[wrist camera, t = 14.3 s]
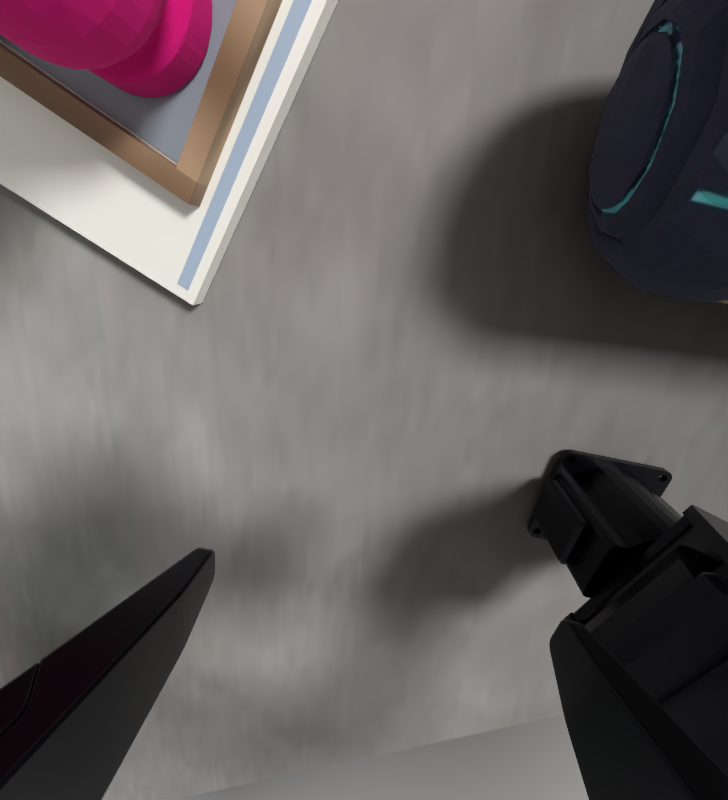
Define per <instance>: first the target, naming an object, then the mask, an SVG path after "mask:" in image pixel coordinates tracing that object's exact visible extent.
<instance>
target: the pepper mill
mask: <svg viewBox="0 0 728 800" xmlns="http://www.w3.org/2000/svg"><path fill="white" fill-rule="evenodd" d="M211 30H212V0H0V35H2V36H3V37H5V38H6V39H8V40H9V41H11V42H13V43H14V44H16V45H17V46H19V47H20V48H22V49H24V50H25V51H27V52H29V53H30V54H32V55H34V56H36V57H38V58H41V59H43V60H45V61H48V62H50V63H53V64H55V65H58V66H63V67H67V68H71V69H88V70H89V71H91V72H93V73H94V74H96V75H97V76H99V77H101V78H102V79H104V80H106V81H107V82H109V83H110V84H112V85H114V86H115V87H117V88H119V89H121V90H123V91H125V92H127V93H130V94H132V95H136V96H140V97H148V98H151V97H161V96H164V95H167V94H171V93H174V92H175V91H177V90H178V89H180V88H181V87H183V86H184V85H185V84H186V83H187V82H189V81H190V80H191V79H192V78H193V77H194V75H195V74H196V72H197V70H198V68H199V67H200V65H201V63H202V61H203V59H204V57H205V56H206V53H207V49H208V46H209V41H210V36H211Z"/></svg>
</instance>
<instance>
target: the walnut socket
mask: <svg viewBox="0 0 728 800" xmlns="http://www.w3.org/2000/svg"><path fill="white" fill-rule="evenodd" d="M282 1H283V0H237V1H236V4H235V7H234V9H233V12H232V15H231V18H230V21H229V23H228V26H227V29H226V32H225V34H224V37H223V40H222V43H221V45H220V48H219V51H218V54H217V56H216V59H215V62H214V65H213V68H212V70H211V73H210V76H209V79H208V81H207V84H206V87H205V90H204V92H203V95H202V98H201V101H200V104H199V106H198V109H197V112H196V115H195V117H194V120H193V123H192V126H191V128H190V131H189V134H188V137H187V140H186V142H185V145H184V148H183V151H182V153H181V156H180V159H179V162H178V164H177V165H176V164H175V163H173V162H172V161H170V160H169V159H167V158H166V157H165V156H163V155H162V154H160V153H159V152H157V151H156V150H154V149H153V148H152V147H150V146H149V145H147V144H146V143H144V142H143V141H141V140H140V139H139V138H137V137H136V136H134V135H133V134H131V133H130V132H128V131H127V130H126V129H124V128H123V127H121V126H120V125H118V124H117V123H115V122H114V121H113V120H111V119H110V118H108V117H107V116H105V115H104V114H103V113H101V112H100V111H98V110H97V109H95V108H94V107H92V106H91V105H90V104H88V103H87V102H85V101H84V100H82V99H81V98H79V97H78V96H77V95H75V94H74V93H72V92H71V91H69V90H68V89H66V88H65V87H64V86H62V85H61V84H59V83H58V82H56V81H55V80H53V79H52V78H51V77H49V76H48V75H46V74H45V73H43V72H42V71H41V70H39V69H38V68H36V67H35V66H33V65H32V64H30V63H29V62H28V61H26V60H25V59H23V58H22V57H20V56H19V55H17V54H16V53H15V52H13V51H12V50H10V49H9V48H7V47H6V46H4V45H3V44H2V43H0V77H2V78H3V79H5V80H6V81H8V82H9V83H11V84H12V85H14V86H15V87H16V88H18V89H19V90H21V91H22V92H24V93H25V94H27V95H28V96H30V97H31V98H33V99H34V100H36V101H37V102H39V103H40V104H42V105H43V106H44V107H46V108H47V109H49V110H50V111H52V112H53V113H55V114H56V115H58V116H59V117H61V118H62V119H64V120H65V121H67V122H68V123H70V124H71V125H72V126H74V127H75V128H77V129H78V130H80V131H81V132H83V133H84V134H86V135H87V136H89V137H90V138H92V139H93V140H95V141H96V142H98V143H99V144H100V145H102V146H103V147H105V148H106V149H108V150H109V151H111V152H112V153H114V154H115V155H117V156H118V157H120V158H121V159H123V160H124V161H126V162H127V163H128V164H130V165H131V166H133V167H134V168H136V169H137V170H139V171H140V172H142V173H143V174H145V175H146V176H148V177H149V178H151V179H152V180H153V181H155V182H156V183H158V184H159V185H161V186H162V187H164V188H165V189H167V190H168V191H170V192H171V193H173V194H174V195H176V196H177V197H179V198H180V199H181V200H183V201H184V202H186V203H187V204H190V205H194V206H198V207H200V205H201V202H202V200H203V197H204V195H205V192H206V190H207V187H208V185H209V182H210V180H211V177H212V175H213V172H214V170H215V167H216V165H217V162H218V160H219V157H220V155H221V153H222V150H223V148H224V145H225V143H226V140H227V138H228V135H229V133H230V130H231V128H232V125H233V123H234V120H235V118H236V115H237V113H238V110H239V108H240V105H241V103H242V100H243V98H244V95H245V93H246V90H247V88H248V85H249V83H250V80H251V78H252V75H253V73H254V70H255V68H256V65H257V63H258V60H259V58H260V55H261V53H262V50H263V48H264V45H265V43H266V40H267V38H268V35H269V33H270V30H271V28H272V25H273V23H274V20H275V18H276V15H277V13H278V10H279V8H280V6H281V3H282Z"/></svg>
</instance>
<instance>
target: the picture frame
mask: <svg viewBox="0 0 728 800" xmlns="http://www.w3.org/2000/svg"><path fill="white" fill-rule="evenodd" d="M236 1H237V0H212V30H211V36H210V41H209V46H208V49H207V53H206V56H205V57H204V59H203V61H202V63H201V65H200V67H199V68H198V70H197V72H196V74H195V75H194V77H193V78H192V79H191V80H190V81H189V82H187V83H186V84H185V85H184V86H183V87H181V88H180V89H178V90H177V91H175V92H174V93H171V94H167V95H164V96H161V97H151V98H148V97H140V96H136V95H132V94H130V93H127V92H125V91H123V90H121V89H119V88H117V87H115V86H114V85H112V84H110V83H109V82H107V81H106V80H104V79H102V78H101V77H99V76H97V75H96V74H94V73H93V72H91V71H89V70H88V69H71V68H67V67H63V66H58V65H55V64H53V63H50V62H48V61H45V60H43V59H41V58H38V57H36V56H34V55H32V54H30V53H29V52H27V51H25V50H24V49H22V48H20V47H19V46H17V45H16V44H14V43H13V42H11V41H9V40H8V39H6V38H5V37H3V36H2V35H0V43H2V44H3V45H4V46H6V47H7V48H9V49H10V50H12V51H13V52H15V53H16V54H17V55H19V56H20V57H22V58H23V59H25V60H26V61H28V62H29V63H30V64H32V65H33V66H35V67H36V68H38V69H39V70H41V71H42V72H43V73H45V74H46V75H48V76H49V77H51V78H52V79H53V80H55V81H56V82H58V83H59V84H61V85H62V86H64V87H65V88H66V89H68V90H69V91H71V92H72V93H74V94H75V95H77V96H78V97H79V98H81V99H82V100H84V101H85V102H87V103H88V104H90V105H91V106H92V107H94V108H95V109H97V110H98V111H100V112H101V113H103V114H104V115H105V116H107V117H108V118H110V119H111V120H113V121H114V122H115V123H117V124H118V125H120V126H121V127H123V128H124V129H126V130H127V131H128V132H130V133H131V134H133V135H134V136H136V137H137V138H139V139H140V140H141V141H143V142H144V143H146V144H147V145H149V146H150V147H152V148H153V149H154V150H156V151H157V152H159V153H160V154H162V155H163V156H165V157H166V158H167V159H169V160H170V161H172V162H173V163H175V164H176V165H177V164H178V162H179V159H180V156H181V153H182V151H183V148H184V145H185V142H186V140H187V137H188V134H189V131H190V128H191V126H192V123H193V120H194V117H195V115H196V112H197V109H198V106H199V104H200V101H201V98H202V95H203V92H204V90H205V87H206V84H207V81H208V79H209V76H210V73H211V70H212V68H213V65H214V62H215V59H216V56H217V54H218V51H219V48H220V45H221V43H222V40H223V37H224V34H225V32H226V29H227V26H228V23H229V21H230V18H231V15H232V12H233V9H234V7H235V4H236ZM337 2H338V0H283V1H282V3H281V6H280V8H279V10H278V13H277V15H276V18H275V20H274V23H273V25H272V28H271V30H270V33H269V35H268V38H267V40H266V43H265V45H264V48H263V50H262V53H261V55H260V58H259V60H258V63H257V65H256V68H255V70H254V73H253V75H252V78H251V80H250V83H249V85H248V88H247V90H246V93H245V95H244V98H243V100H242V103H241V105H240V108H239V110H238V113H237V115H236V118H235V120H234V123H233V125H232V128H231V130H230V133H229V135H228V138H227V140H226V143H225V145H224V148H223V150H222V153H221V155H220V157H219V160H218V162H217V165H216V167H215V170H214V172H213V175H212V177H211V180H210V182H209V185H208V187H207V190H206V192H205V195H204V197H203V200H202V202H201V205H200V207H198V206H194V205H190V204H187V203H186V202H184V201H183V200H181V199H180V198H179V197H177V196H176V195H174V194H173V193H171V192H170V191H168V190H167V189H165V188H164V187H162V186H161V185H159V184H158V183H156V182H155V181H153V180H152V179H151V178H149V177H148V176H146V175H145V174H143V173H142V172H140V171H139V170H137V169H136V168H134V167H133V166H131V165H130V164H128V163H127V162H126V161H124V160H123V159H121V158H120V157H118V156H117V155H115V154H114V153H112V152H111V151H109V150H108V149H106V148H105V147H103V146H102V145H100V144H99V143H98V142H96V141H95V140H93V139H92V138H90V137H89V136H87V135H86V134H84V133H83V132H81V131H80V130H78V129H77V128H75V127H74V126H72V125H71V124H70V123H68V122H67V121H65V120H64V119H62V118H61V117H59V116H58V115H56V114H55V113H53V112H52V111H50V110H49V109H47V108H46V107H44V106H43V105H42V104H40V103H39V102H37V101H36V100H34V99H33V98H31V97H30V96H28V95H27V94H25V93H24V92H22V91H21V90H19V89H18V88H16V87H15V86H14V85H12V84H11V83H9V82H8V81H6V80H5V79H3V78H2V77H0V184H2V185H3V186H5V187H6V188H8V189H9V190H11V191H13V192H14V193H16V194H17V195H19V196H21V197H22V198H24V199H25V200H27V201H28V202H30V203H32V204H33V205H35V206H36V207H38V208H39V209H41V210H43V211H44V212H46V213H47V214H49V215H51V216H52V217H54V218H55V219H57V220H58V221H60V222H62V223H63V224H65V225H66V226H68V227H70V228H71V229H73V230H74V231H76V232H77V233H79V234H81V235H82V236H84V237H85V238H87V239H89V240H90V241H92V242H93V243H95V244H96V245H98V246H100V247H101V248H103V249H104V250H106V251H108V252H109V253H111V254H112V255H114V256H115V257H117V258H119V259H120V260H122V261H123V262H125V263H127V264H128V265H130V266H131V267H133V268H134V269H136V270H138V271H139V272H141V273H142V274H144V275H146V276H147V277H149V278H150V279H152V280H153V281H155V282H157V283H158V284H160V285H161V286H163V287H164V288H166V289H168V290H169V291H171V292H172V293H174V294H176V295H177V296H179V297H180V298H182V299H183V300H185V301H187V302H188V303H190V304H191V305H196V304H200V303H202V302H203V300H204V298H205V296H206V293H207V291H208V289H209V287H210V285H211V282H212V280H213V278H214V276H215V273H216V271H217V269H218V267H219V265H220V262H221V260H222V258H223V256H224V253H225V251H226V249H227V247H228V245H229V242H230V240H231V238H232V236H233V233H234V231H235V229H236V227H237V225H238V222H239V220H240V218H241V216H242V213H243V211H244V209H245V207H246V205H247V202H248V200H249V198H250V196H251V193H252V191H253V189H254V187H255V185H256V182H257V180H258V178H259V176H260V173H261V171H262V169H263V167H264V165H265V162H266V160H267V158H268V156H269V153H270V151H271V149H272V147H273V145H274V142H275V140H276V138H277V136H278V133H279V131H280V129H281V127H282V125H283V122H284V120H285V118H286V116H287V113H288V111H289V109H290V107H291V105H292V102H293V100H294V98H295V96H296V93H297V91H298V89H299V87H300V85H301V82H302V80H303V78H304V76H305V73H306V71H307V69H308V67H309V65H310V62H311V60H312V58H313V56H314V53H315V51H316V49H317V47H318V45H319V42H320V40H321V38H322V36H323V33H324V31H325V29H326V27H327V25H328V22H329V20H330V18H331V16H332V13H333V11H334V9H335V7H336V5H337Z"/></svg>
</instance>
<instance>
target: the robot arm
mask: <svg viewBox="0 0 728 800" xmlns="http://www.w3.org/2000/svg"><path fill="white" fill-rule="evenodd" d="M570 457H573V458H572V459H571V460H569V461H567V460H568V458H570ZM660 476H661V477H660ZM659 477H660V478H659ZM671 479H672V475H671V474H670V473H669V472H668V471H667V470H666V469H664V468H660V467H655V466H650V465H645V464H640V463H635V462H630V461H625V460H620V459H615V458H610V457H605V456H600V455H594V454H589V453H584V452H579V451H574V450H567V451H564V452H563V453H562V454H561V455H560V457H559V459H558V462H557V464H556V466H555V468H554V470H553V472H552V474H551V476H550V479H549V480H548V481H547V482H546V484H545V486H544V488H543V490H542V492H541V494H540V497H539V499H538V501H537V503H536V505H535V507H534V509H533V515H532V517H531V519H530V521H529V523H528V526H527V529H528V531H529V533H530V535H531V536H533V537H537V538H543V539H547V540H548V542H549V543H550V545H551V547H552V549H553V551H554V553H555V554H556V556H557V558H558V560H559V561H560V563H561V564H565V565H567V567H568V569H569V570H570V572H571V574H572V576H573V578H574V579H575V581H576V583H577V585H578V587H579V588H580V590H581V592H582V594H583V595H584V596H585V597H589V598H590V599H589V600H588V601H587V602H586V603H585V604H584V605H582V606H581V607H580V608H579V609H578V610H577V611H576V612H575V613H570V614H569V615H568V616H567V617H565V618H564V620H562V621H561V622H560V624H559V625H558V627H557V629H556V630H555V632H554V634H553V635H552V637H551V639H550V652H551V657H552V662H553V666H554V671H555V676H556V680H557V685H558V690H559V694H560V699H561V704H562V708H563V713H564V717H565V721H566V724H567V728H568V731H569V735H570V738H571V742H572V745H573V748H574V752H575V754H576V758H577V761H578V765H579V768H580V771H581V775H582V778H583V781H584V784H585V787H586V791H587V794H588V797H589V800H728V522H726V521H724V520H722V519H720V518H718V517H716V516H714V515H712V514H710V513H708V512H706V511H704V510H702V509H700V508H698V507H696V506H694V505H691V506H690V507H689V508H688V509H686V510H685V511H684V512H683V514H684V516H683V517H682V516H681V515H679V514H678V513H677V512H676V511H675V510H674V509H673V508H672V507H671V506H670V505H668V504H667V503H666V502H665V501H664V500H663V499H662V498H661V495H662V494H663V492H664V490H665V489H666V487H667V486H668V484H669V483H670V481H671ZM536 528H538V529H536ZM534 529H536V530H534ZM214 574H215V552H214V551H213V550H211V549H206V548H197V549H195V550H194V551H192V552H191V553H189V554H188V555H187V556H185V557H184V558H183V559H181V560H180V561H178V562H177V563H176V564H174V565H173V566H171V567H170V568H169V569H167V570H166V571H164V572H163V573H162V574H160V575H159V576H157V577H156V578H155V579H153V580H152V581H150V582H149V583H148V584H146V585H145V586H143V587H142V588H141V589H139V590H138V591H136V592H135V593H134V594H132V595H131V596H129V597H128V598H127V599H125V600H124V601H123V602H121V603H120V604H118V605H117V606H116V607H114V608H113V609H111V610H110V611H109V612H107V613H106V614H104V615H103V616H102V617H100V618H99V619H97V620H96V621H95V622H93V623H92V624H90V625H89V626H88V627H86V628H85V629H83V630H82V631H81V632H79V633H78V634H76V635H75V636H74V637H72V638H71V639H69V640H68V641H67V642H65V643H64V644H62V645H61V646H60V647H58V648H57V649H56V650H54V651H53V652H51V653H50V654H49V655H47V656H46V657H44V658H43V659H42V660H41V661H40V664H39V663H36V664H34V665H33V666H32V667H30V668H29V669H27V670H26V671H25V672H23V673H22V674H20V675H19V676H18V677H16V678H15V679H13V680H12V681H10V682H9V683H8V684H6V685H5V686H3V687H2V688H0V800H102V798H103V796H104V794H105V792H106V791H107V789H108V787H109V785H110V783H111V781H112V780H113V778H114V776H115V774H116V772H117V770H118V768H119V767H120V765H121V763H122V761H123V759H124V757H125V756H126V754H127V752H128V750H129V748H130V746H131V745H132V743H133V741H134V739H135V737H136V735H137V734H138V732H139V730H140V728H141V726H142V724H143V723H144V721H145V719H146V717H147V715H148V713H149V712H150V710H151V708H152V706H153V704H154V702H155V701H156V699H157V697H158V695H159V693H160V691H161V690H162V688H163V686H164V684H165V682H166V680H167V679H168V677H169V675H170V673H171V671H172V669H173V668H174V666H175V664H176V662H177V660H178V658H179V656H180V655H181V653H182V651H183V649H184V647H185V645H186V642H187V640H188V638H189V636H190V633H191V631H192V629H193V626H194V624H195V622H196V619H197V617H198V615H199V612H200V610H201V608H202V605H203V603H204V601H205V598H206V596H207V594H208V591H209V589H210V586H211V584H212V582H213V578H214Z"/></svg>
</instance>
